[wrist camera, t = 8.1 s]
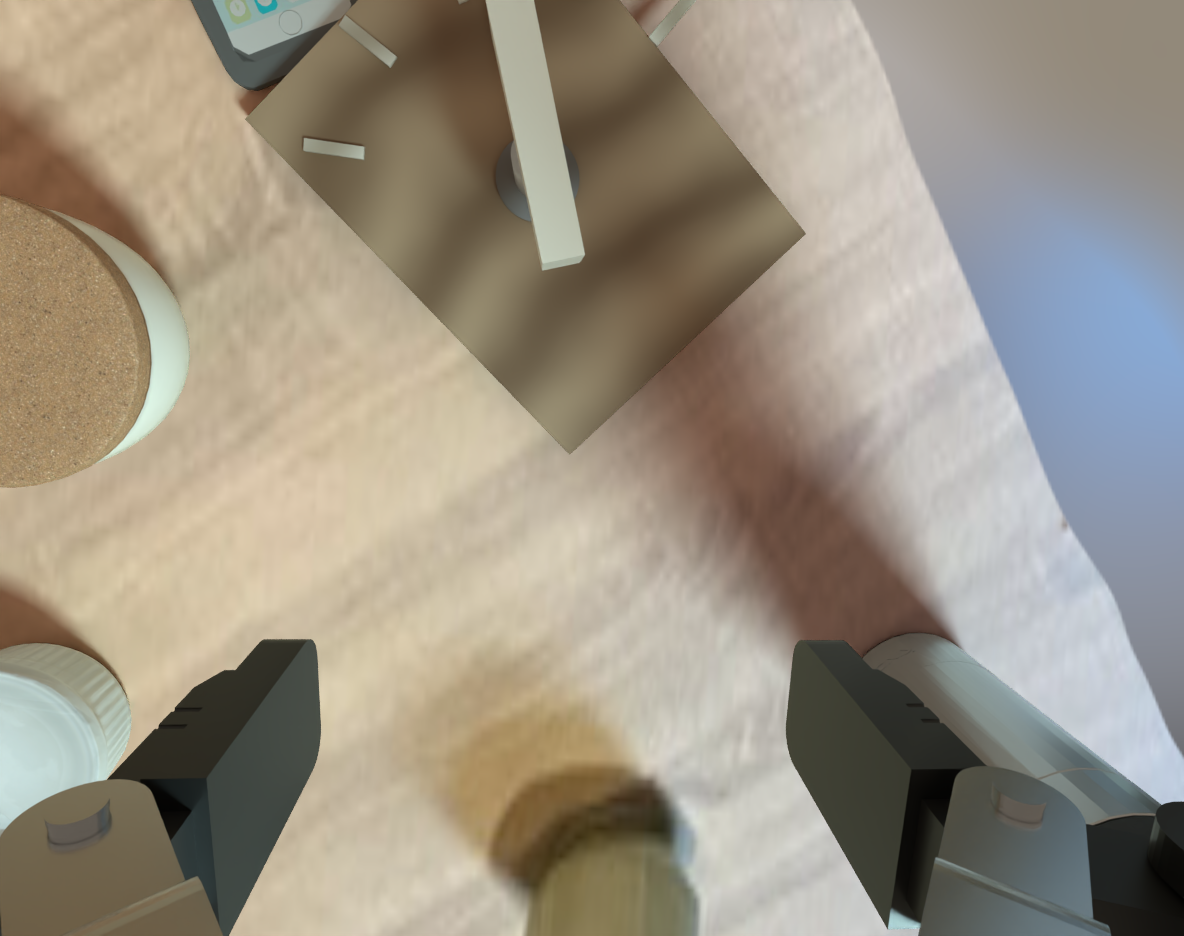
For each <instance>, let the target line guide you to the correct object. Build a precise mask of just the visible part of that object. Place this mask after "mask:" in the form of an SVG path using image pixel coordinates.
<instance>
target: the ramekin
mask: <svg viewBox="0 0 1184 936" xmlns="http://www.w3.org/2000/svg"><path fill="white" fill-rule="evenodd" d="M130 731H131V711H130V707H129V703H128V700H127V698H126V695H125V693H124V691H123V689H122V688H121V686H120V684H119V683H118V681H117V680H116V678H115V677H114V676H113V675H112V674H111V673H110V672H109V671H108V670H107V669H106V668H105V667H104V666H103V665H102V664H100V663H99V662H98V661H96V660H95V659H93V658H91V657H89V656H88V655H86V654H84V653H82V652H79V651H76V650H74V649H71V648H68V647H63V646H60V645H53V644H48V643H44V644H41V643H31V644H21V645H17V646H11V647H8V648H5V649H2V650H0V836H1V834H2V833H3V832H4V830H5V829H6V827H7V826H8V825H9V824H10V823H11V822H12V821H13V820H14V819H15V818H17V817H18V816H19V815H20V814H22V813H23V812H24V811H26V810H27V809H29V808H30V807H32V806H33V805H35V804H37V803H39V802H40V801H42V800H44V799H46V798H48V797H50V796H52V795H54V794H57V793H59V792H61V791H64V790H67V789H70V788H72V787H76V786H79V785H83V784H86V783H91V782H96V781H102V780H106V779H107V778H108V776H109V774H110V773H111V771H112V770H113V769H114V767H115V766H116V764H117V762H118V761H119V759H120V757H121V756H122V754H123V752H124V751H125V749H126V745H127V742H128V740H129V735H130Z"/></svg>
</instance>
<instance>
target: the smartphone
mask: <svg viewBox="0 0 1184 936" xmlns="http://www.w3.org/2000/svg"><path fill="white" fill-rule="evenodd" d="M191 1H192V3H193V5H194V7H195V9H196V11H197V14H198V16H199V18H200V20H201V22H202V24H203V26H204V28H205V30H206V32H207V34H208V36H209V38H210V40H211V42H212V44H213V46H214V48H215V50H216V52H217V54H218V55H219V57H220V59H221V61H222V63H223V65H224V67H225V69H226V71H227V72H228V74H229V75H230V76H231V77H232V79H233V80H234V81H235V82H236V83H237V84H239V85H241V86H242V87H244V88H246V89H248V90H255V91H258V90H261V89H263V88H266V87H268V86H271V85H273V84H276V83H278V82H281V81H282V80H283V79H284V78H285V76H286V75H287V74H288V73H289V72H290V71H291V70H292V69H293V68H294V67H295V66H296V65H297V64H298V63H299V62H300V61H301V60H302V59H303V58H304V56H305V55H306V54H307V53H308V52H309V51H310V50H311V49H312V48H313V47H314V46H315V45H316V44H317V43H318V42H319V41H320V40H321V39H322V37H323V36H324V35H325V34H326V33H327V32H328V31H329V30H330V29H331V28H332V27H333V26H334V25H335V24H336V23H337V22H338V21H339V20H340V18H341V17H342V16H343V15H344V14H345V13H346V12H347V11H348V10H349V9H350V8H351V7H352V6H353V5H354V4H355V3H356V2H357V1H358V0H191Z"/></svg>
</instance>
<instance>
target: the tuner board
mask: <svg viewBox="0 0 1184 936" xmlns="http://www.w3.org/2000/svg"><path fill="white" fill-rule="evenodd" d="M695 1H696V0H680V1H679V2H678V3H677V4H676V5H675V6H674V8H673V9H672V10H671V11H670V12H669V14H668V15H667V16H666V17H665V18H664V20H663V21H662V22H661V23H660V24H659V25H658V27H657V28H656V29H655V30H654V31H653V33H652V34H651V35H650V36H649V37H648V35H647V34H646V33H645V32H644V30H643V29H642V28H641V27H640V25H639V24H638V23H637V22H636V20H635V19H634V18H633V17H632V15H631V14H630V13H629V12H628V10H627V9H626V8H625V7H624V5H623V4H622V3H621V2H620V0H534V3H535V8H536V13H537V18H538V23H539V28H540V33H541V38H542V43H543V48H544V53H545V58H546V63H547V68H548V73H549V78H550V83H551V88H552V93H553V98H554V103H555V108H556V113H557V118H558V123H559V128H560V133H561V138H562V143H563V148H564V153H565V158H566V163H567V167H568V172H569V177H570V182H571V187H572V192H573V197H574V202H575V207H576V212H577V217H578V222H579V227H580V232H581V237H582V242H583V247H584V252H585V256H584V257H583V259H582V260H581V262H580V263H576V264H572V265H567V266H562V267H557V268H553V269H548V270H543V271H542V268H541V263H540V259H539V254H538V249H537V245H536V240H535V235H534V231H533V226H532V222H531V217H530V212H529V208H528V203H527V198H526V197H525V196H524V195H523V194H522V193H521V192H520V191H519V189H518V187H517V185H516V182H515V177H514V172H513V166H512V160H511V147H512V143H513V141H514V138H513V133H512V129H511V124H510V119H509V115H508V110H507V106H506V101H505V96H504V92H503V87H502V82H501V78H500V73H499V68H498V64H497V59H496V55H495V50H494V45H493V41H492V35H491V30H490V24H489V18H488V12H487V6H486V0H358V1H357V2H356V3H355V4H354V5H353V6H352V7H351V8H350V9H349V10H348V11H347V12H346V13H345V14H344V15H343V16H342V17H341V18H340V20H339V21H338V22H337V23H336V24H335V25H334V26H333V27H332V28H331V29H330V30H329V31H328V32H327V33H326V34H325V35H324V36H323V37H322V39H321V40H320V41H319V42H318V43H317V44H316V45H315V46H314V47H313V48H312V49H311V50H310V51H309V52H308V53H307V54H306V55H305V56H304V58H303V59H302V60H301V61H300V62H299V63H298V64H297V65H296V66H295V67H294V68H293V69H292V70H291V71H290V72H289V73H288V74H287V75H286V76H285V78H284V79H283V80H282V81H281V82H280V83H279V84H278V85H277V86H276V87H275V88H274V89H273V90H272V91H271V92H270V93H269V94H268V95H267V97H266V98H265V99H264V100H263V101H262V102H261V103H260V104H259V105H258V106H257V107H256V108H255V109H254V110H253V111H252V112H251V113H250V114H249V116H248V117H247V118H246V119H245V120H246V121H247V122H248V123H249V124H250V125H251V126H252V127H253V128H254V129H255V130H256V131H257V132H258V133H259V134H260V135H261V136H262V137H263V138H264V139H265V140H266V141H267V142H268V143H269V144H270V145H271V146H272V147H273V148H274V150H275V151H276V152H277V153H278V154H279V155H280V156H281V157H282V158H283V159H284V160H285V161H286V162H287V163H288V164H289V165H290V166H291V167H292V168H293V169H294V170H295V171H296V172H297V173H298V174H299V175H300V176H301V177H302V178H303V179H304V181H305V182H306V183H307V184H308V185H309V186H310V187H311V188H312V189H313V190H314V191H315V192H316V193H317V194H318V195H319V196H320V197H321V198H322V199H323V200H324V201H325V202H326V203H327V204H328V205H329V206H330V207H331V208H332V209H333V210H334V212H335V213H336V214H337V215H338V216H339V217H340V218H341V219H342V220H343V221H344V222H345V223H346V224H347V225H348V226H349V227H350V228H351V229H352V230H353V231H354V232H355V233H356V234H357V235H358V236H359V237H360V238H361V239H362V240H363V242H364V243H365V244H366V245H367V246H368V247H369V248H370V249H371V250H372V251H373V252H374V253H375V254H376V255H377V256H378V257H379V258H380V259H381V260H382V261H383V262H384V263H385V264H386V265H387V266H388V267H389V268H390V269H391V270H392V271H393V273H394V274H395V275H396V276H397V277H398V278H399V279H400V280H401V281H402V282H403V283H404V284H405V285H406V286H407V287H408V288H409V289H410V290H411V291H412V292H413V293H414V294H415V295H416V296H417V297H418V298H419V299H420V300H421V301H422V302H423V304H424V305H425V306H426V307H427V308H428V309H429V310H430V311H431V312H432V313H433V314H434V315H435V316H436V317H437V318H438V319H439V320H440V321H441V322H442V323H443V324H444V325H445V326H446V327H447V328H448V329H449V330H450V331H451V332H452V333H453V335H454V336H455V337H456V338H457V339H458V340H459V341H460V342H461V343H462V344H463V345H464V346H465V347H466V348H467V349H468V350H469V351H470V352H471V353H472V354H473V355H474V356H475V357H476V358H477V359H478V360H479V361H480V362H481V363H482V365H483V366H484V367H485V368H486V369H487V370H488V371H489V372H490V373H491V374H492V375H493V376H494V377H495V378H496V379H497V380H498V381H499V382H500V383H501V384H502V385H503V386H504V387H505V388H506V389H507V390H508V391H509V392H510V393H511V394H512V396H513V397H514V398H515V399H516V400H517V401H518V402H519V403H520V404H521V405H522V406H523V407H524V408H525V409H526V410H527V411H528V412H529V413H530V414H531V415H532V416H533V417H534V418H535V419H536V420H537V421H538V422H539V423H540V424H541V425H542V427H543V428H544V429H545V430H546V431H547V432H548V433H549V434H550V435H551V436H552V437H553V438H554V439H555V440H556V441H557V442H558V443H559V444H560V445H561V446H562V447H563V448H564V449H565V450H566V451H567V452H568V453H569V454H571V453H572V452H573V451H574V450H575V449H576V448H577V447H578V446H579V445H581V444H582V443H583V442H584V441H585V440H586V439H587V438H588V437H589V436H590V435H591V434H592V433H593V432H594V431H595V430H597V429H598V428H599V427H600V426H601V425H602V424H603V423H604V422H605V421H606V420H607V419H608V418H609V417H610V416H612V415H613V414H614V413H615V412H616V411H617V410H618V409H619V408H620V407H621V406H622V405H623V404H624V403H625V402H626V401H628V400H629V399H630V398H631V397H632V396H633V395H634V394H635V393H636V392H637V391H638V390H639V389H640V388H641V387H643V386H644V385H645V384H646V383H647V382H648V381H649V380H650V379H651V378H652V377H653V376H654V375H655V374H656V373H658V372H659V371H660V370H661V369H662V368H663V367H664V366H665V365H666V364H667V363H668V362H669V361H670V360H671V359H672V358H674V357H675V356H676V355H677V354H678V353H679V352H680V351H681V350H682V349H683V348H684V347H685V346H686V345H687V344H689V343H690V342H691V341H692V340H693V339H694V338H695V337H696V336H697V335H698V334H699V333H700V332H701V331H702V330H703V329H705V328H706V327H707V326H708V325H709V324H710V323H711V322H712V321H713V320H714V319H715V318H716V317H717V316H718V315H720V314H721V313H722V312H723V311H724V310H725V309H726V308H727V307H728V306H729V305H730V304H731V303H732V302H733V301H735V300H736V299H737V298H738V297H739V296H740V295H741V294H742V293H743V292H744V291H745V290H746V289H747V288H748V287H749V286H751V285H752V284H753V283H754V282H755V281H756V280H757V279H758V278H759V277H760V276H761V275H762V274H763V273H764V272H766V271H767V270H768V269H769V268H770V267H771V266H772V265H773V264H774V263H775V262H776V261H777V260H778V259H779V258H780V257H782V256H783V255H784V254H785V253H786V252H787V251H788V250H789V249H790V248H791V247H792V246H793V245H794V244H795V243H797V242H798V241H799V240H800V239H801V238H802V237H803V236H804V235H805V234H806V233H805V232H804V231H803V230H802V228H801V227H800V226H799V225H798V223H797V222H796V221H795V220H794V218H793V217H792V216H791V215H790V213H789V212H788V211H787V210H786V208H785V207H784V206H783V205H782V203H781V202H780V201H779V200H778V198H777V197H776V196H775V195H774V193H773V192H772V191H771V190H770V188H769V187H768V186H767V184H766V183H765V182H764V181H763V179H762V178H761V177H760V176H759V174H758V173H757V172H756V171H755V169H754V168H753V167H752V166H751V164H750V163H749V162H748V161H747V159H746V158H745V157H744V156H743V154H742V153H741V152H740V151H739V149H738V148H737V147H736V146H735V144H734V143H733V142H732V141H731V139H730V138H729V137H728V136H727V134H726V133H725V132H724V131H723V129H722V128H721V127H720V126H719V124H718V123H717V122H716V121H715V119H714V118H713V117H712V116H711V114H710V113H709V112H708V111H707V109H706V108H705V107H704V106H703V104H702V103H701V102H700V101H699V99H698V98H697V97H696V96H695V94H694V93H693V92H692V91H691V89H690V88H689V87H688V86H687V84H686V83H685V82H684V81H683V79H682V78H681V77H680V76H679V74H678V73H677V72H676V71H675V69H674V68H673V67H672V66H671V64H670V63H669V62H668V61H667V59H666V58H665V57H664V56H663V54H662V53H661V52H660V51H659V49H658V48H657V46H658V45H659V44H660V43H661V42H662V40H663V39H664V38H665V37H666V36H667V35H668V33H669V32H670V31H671V30H672V29H673V27H674V26H675V25H676V24H677V23H678V22H679V20H680V19H681V18H682V17H683V16H684V14H685V13H686V12H687V11H688V10H689V9H690V7H691V6H692V5H693V4H694V3H695Z"/></svg>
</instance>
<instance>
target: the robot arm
mask: <svg viewBox="0 0 1184 936" xmlns="http://www.w3.org/2000/svg"><path fill="white" fill-rule="evenodd" d="M320 737H321V720H320V700H319V680H318V660H317V650H316V645H315V643H314V641H313V640H311V639H264V640H262V641H261V642H260V643H259V644H258V645H257V646H256V647H255V648H254V649H253V651H252V652H251V653H250V654H249V655H248V656H247V657H246V659H245V660H244V661H243V662H242V663H241V664H240V665H239V667H238V668H237V669H236V670H224V671H222V672H220V673H219V674H217V675H215V676H213V677H212V678H210V679H208V680H206V681H205V682H203V683H201V684H199V685H198V686H196V687H194V688H193V689H192V690H191V691H190V692H189V693H188V695H187V696H186V697H185V698H184V699H183V700H182V701H181V702H180V703H179V704H178V705H177V706H176V707H175V711H174V712H170V714H169V715H168V716H167V717H166V718H165V719H164V720H163V721H162V722H161V723H160V724H159V728H158V729H154V730H153V731H152V733H151V734H150V735H149V736H148V737H147V738H146V739H145V740H144V741H143V742H142V743H141V744H140V745H139V746H138V747H137V748H136V749H135V750H134V752H133V753H132V754H131V755H130V756H129V757H128V758H127V759H126V760H125V761H124V762H123V763H122V764H121V765H120V766H119V767H118V768H117V769H116V771H115V772H114V773H113V774H112V775H111V776H110V777H109V778H108V779H107V780H102V781H96V782H91V783H86V784H83V785H79V786H76V787H72V788H70V789H67V790H64V791H61V792H59V793H57V794H54V795H52V796H50V797H48V798H46V799H44V800H42V801H40V802H39V803H37V804H35V805H33V806H32V807H30V808H29V809H27V810H26V811H24V812H23V813H22V814H20V815H19V816H18V817H17V818H15V819H14V820H13V821H12V822H11V823H10V824H9V825H8V826H7V827H6V829H5V830H4V832H3V833H2V834H1V836H0V936H229V934H230V932H231V930H232V928H233V926H234V924H235V922H236V920H237V919H238V917H239V915H240V913H241V911H242V909H243V907H244V905H245V903H246V901H247V899H248V897H249V895H250V893H251V891H252V889H253V887H254V885H255V883H256V881H257V879H258V877H259V875H260V873H261V871H262V869H263V867H264V865H265V863H266V861H267V859H268V857H269V855H270V853H271V852H272V850H273V848H274V846H275V844H276V842H277V840H278V838H279V836H280V834H281V832H282V830H283V828H284V826H285V824H286V822H287V820H288V818H289V816H290V814H291V812H292V810H293V808H294V806H295V804H296V802H297V800H298V798H299V796H300V794H301V792H302V790H303V788H304V787H305V785H306V783H307V781H308V779H309V777H310V775H311V773H312V771H313V768H314V766H315V763H316V760H317V756H318V752H319V746H320ZM786 738H787V745H788V750H789V754H790V757H791V760H792V762H793V764H794V766H795V768H796V770H797V771H798V773H799V775H800V777H801V778H802V780H803V782H804V784H805V785H806V787H807V789H808V791H809V792H810V794H811V796H812V798H813V799H814V801H815V803H816V805H817V806H818V808H819V810H820V812H821V813H822V815H823V817H824V819H825V820H826V822H827V824H828V826H829V827H830V829H831V831H832V833H833V834H834V836H835V838H836V840H837V841H838V843H839V845H840V847H841V848H842V850H843V852H844V854H845V855H846V857H847V859H848V861H849V862H850V864H851V866H852V868H853V869H854V871H855V873H856V875H857V876H858V878H859V880H860V882H861V883H862V885H863V887H864V889H865V890H866V892H867V894H868V896H869V897H870V899H871V901H872V903H873V904H874V906H875V908H876V910H877V911H878V913H879V915H880V916H881V918H882V920H883V922H884V923H885V925H886V927H887V929H913V928H920V930H919V934H918V936H1184V802H1170V803H1165V804H1163V805H1161V804H1160V803H1159V802H1157V801H1156V800H1155V799H1153V798H1152V797H1151V796H1150V795H1148V794H1147V793H1146V792H1144V791H1143V790H1142V789H1141V788H1139V787H1138V786H1137V785H1135V784H1134V783H1133V782H1131V781H1130V780H1128V779H1127V778H1126V777H1125V776H1123V775H1122V774H1121V773H1119V772H1118V771H1117V770H1116V769H1114V768H1113V767H1112V766H1110V765H1109V764H1108V763H1107V762H1105V761H1104V760H1103V759H1101V758H1100V757H1099V756H1098V755H1096V754H1095V753H1094V752H1092V751H1091V750H1090V749H1089V748H1087V747H1086V746H1085V745H1083V744H1082V743H1081V742H1080V741H1078V740H1077V739H1076V738H1074V737H1073V736H1072V735H1071V734H1069V733H1068V732H1067V731H1065V730H1064V729H1063V728H1062V727H1060V726H1059V725H1058V724H1056V723H1055V722H1054V721H1053V720H1051V719H1050V718H1049V717H1047V716H1046V715H1045V714H1044V713H1042V712H1041V711H1040V710H1038V709H1037V708H1036V707H1035V706H1033V705H1032V704H1031V703H1029V702H1028V701H1027V700H1026V699H1024V698H1023V697H1022V696H1020V695H1019V694H1018V693H1017V692H1015V691H1014V690H1013V689H1011V688H1010V687H1009V686H1008V685H1006V684H1005V683H1004V682H1002V681H1001V680H1000V679H999V678H997V677H996V676H995V675H994V674H993V673H991V672H990V671H989V670H987V669H986V668H985V667H984V666H982V665H981V664H980V663H978V662H977V661H976V660H974V659H973V658H972V657H971V656H969V655H968V654H967V653H965V652H964V651H963V650H962V649H960V648H959V647H958V646H956V645H955V644H953V643H952V642H951V641H949V640H947V639H945V638H942V637H940V636H937V635H932V634H926V633H910V634H905V635H901V636H897V637H893V638H891V639H889V640H887V641H885V642H882V643H880V644H879V645H878V646H876V647H875V648H873V649H872V650H871V651H869V652H868V653H867V654H866V655H865V656H864V657H863V658H861V657H860V656H859V655H858V654H857V653H856V652H855V650H854V649H853V648H852V647H851V646H850V645H849V644H848V643H847V642H845V641H843V640H801V641H799V642H798V643H797V644H796V646H795V649H794V653H793V661H792V671H791V681H790V690H789V700H788V710H787V720H786Z"/></svg>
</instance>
